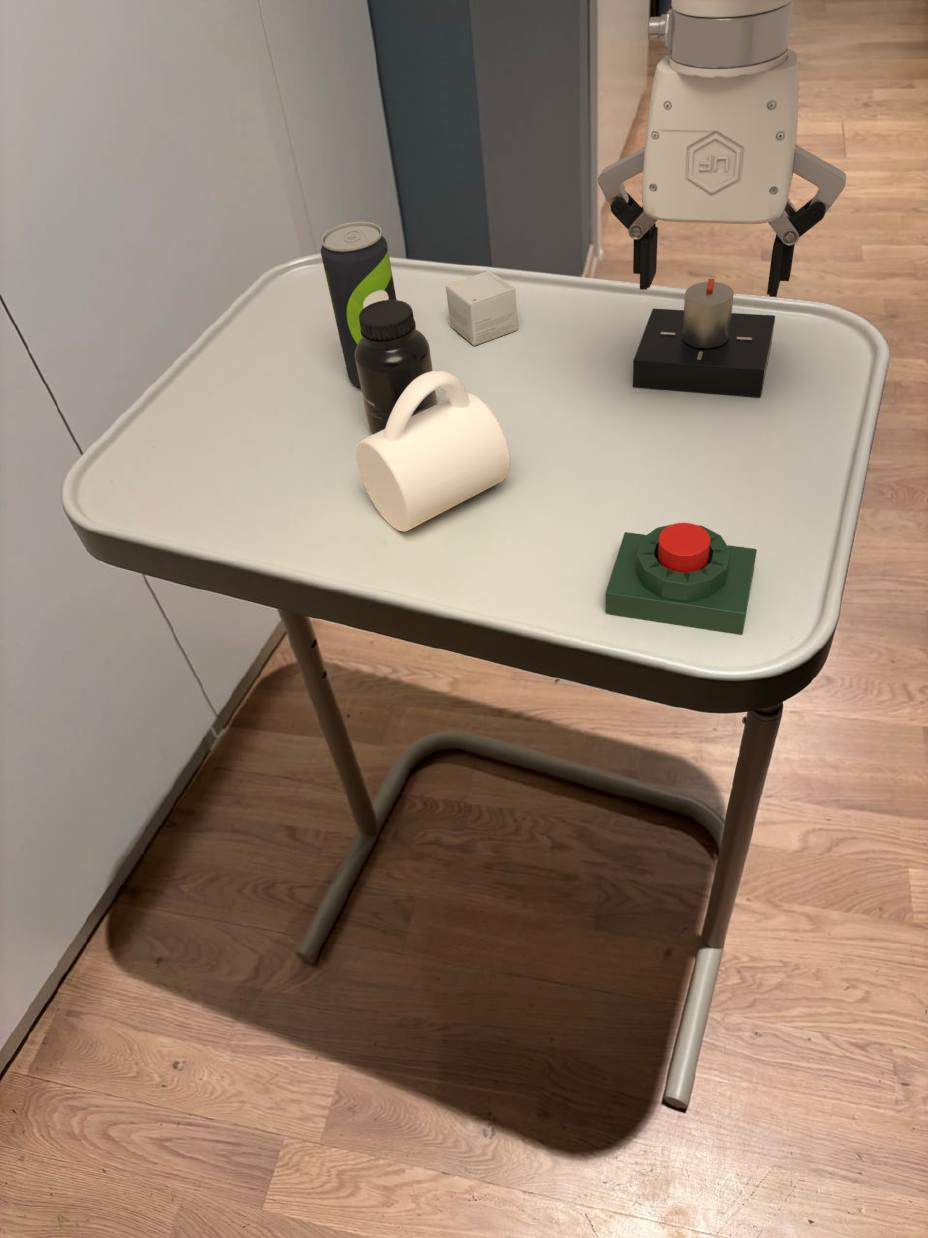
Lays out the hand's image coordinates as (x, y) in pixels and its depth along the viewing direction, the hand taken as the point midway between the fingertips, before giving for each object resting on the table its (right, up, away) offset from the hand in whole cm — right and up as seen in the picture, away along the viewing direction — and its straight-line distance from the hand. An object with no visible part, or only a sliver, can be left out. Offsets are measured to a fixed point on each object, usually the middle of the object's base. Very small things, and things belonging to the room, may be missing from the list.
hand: (709, 284), depth 73 cm
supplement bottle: (-25, -8, +18) cm, 31 cm away
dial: (+4, +1, +17) cm, 18 cm away
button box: (-3, -24, -2) cm, 24 cm away
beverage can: (-28, -1, +24) cm, 37 cm away
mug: (-21, -16, +9) cm, 28 cm away
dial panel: (+4, -1, +19) cm, 20 cm away
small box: (-17, +5, +29) cm, 34 cm away
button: (-3, -21, -4) cm, 22 cm away
